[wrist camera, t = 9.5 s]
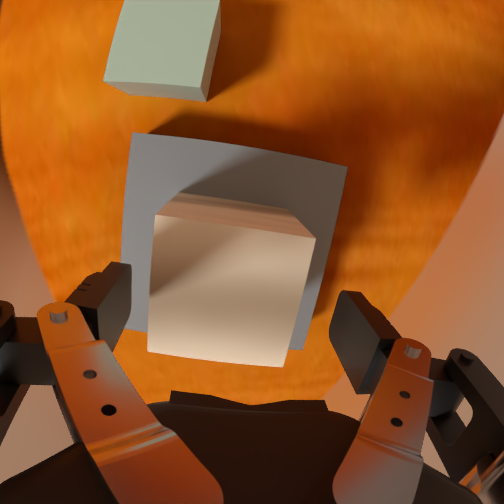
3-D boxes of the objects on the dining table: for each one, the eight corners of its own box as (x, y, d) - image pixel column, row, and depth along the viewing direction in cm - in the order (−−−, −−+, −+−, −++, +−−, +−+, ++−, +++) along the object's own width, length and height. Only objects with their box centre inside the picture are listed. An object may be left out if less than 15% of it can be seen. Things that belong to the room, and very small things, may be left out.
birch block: (178, 192, 17) (155, 214, 11) (287, 208, 18) (316, 238, 12) (167, 293, 19) (147, 351, 13) (267, 306, 20) (282, 367, 14)
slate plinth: (145, 134, 19) (132, 132, 16) (331, 163, 20) (347, 166, 17) (131, 306, 22) (120, 327, 19) (293, 327, 24) (302, 350, 21)
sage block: (146, 26, 16) (125, -4, 12) (221, 31, 17) (220, 0, 12) (130, 95, 18) (102, 81, 13) (206, 102, 18) (200, 87, 14)
